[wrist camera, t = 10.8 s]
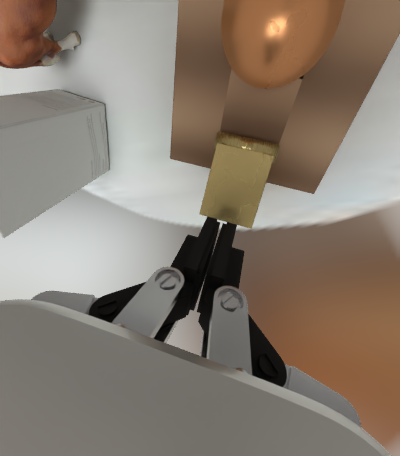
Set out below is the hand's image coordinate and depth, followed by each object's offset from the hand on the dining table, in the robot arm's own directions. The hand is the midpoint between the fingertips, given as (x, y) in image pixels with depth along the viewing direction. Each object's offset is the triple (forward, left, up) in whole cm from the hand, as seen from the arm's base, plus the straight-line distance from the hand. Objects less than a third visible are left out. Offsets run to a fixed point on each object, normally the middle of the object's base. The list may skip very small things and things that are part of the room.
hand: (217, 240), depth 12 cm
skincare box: (+1, -19, -14) cm, 23 cm away
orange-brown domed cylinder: (-10, 0, -13) cm, 16 cm away
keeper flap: (-1, 0, -6) cm, 6 cm away
